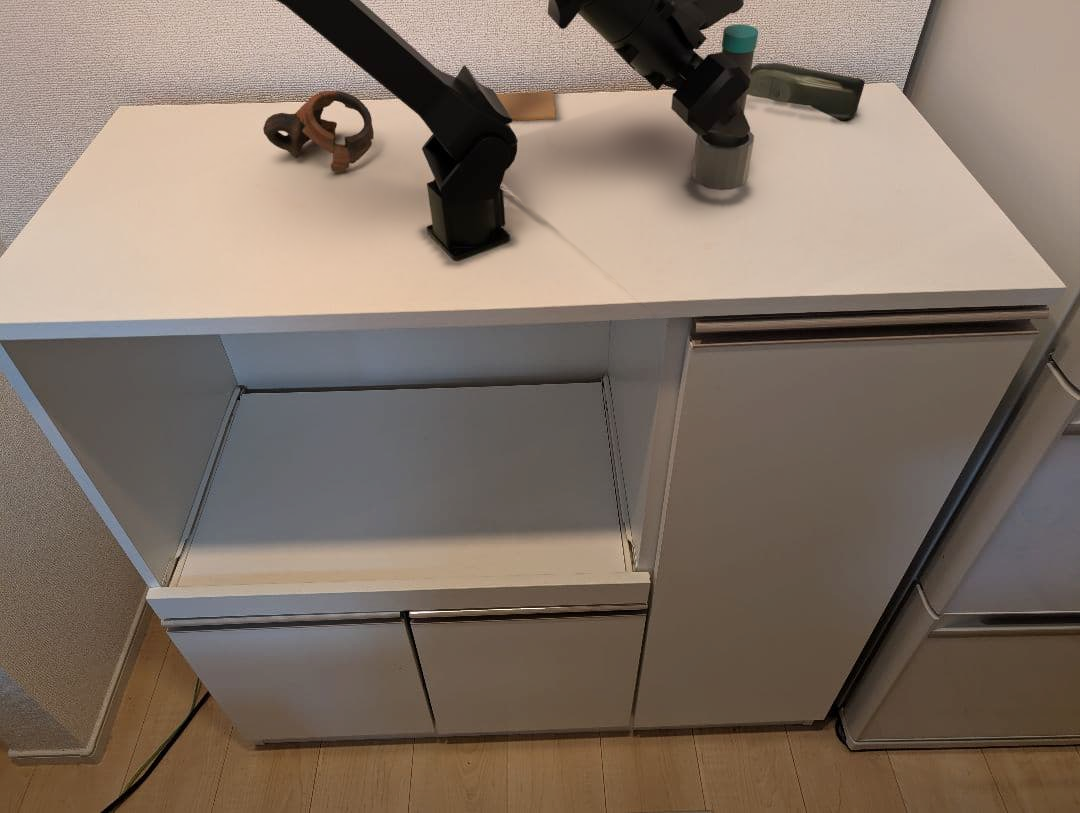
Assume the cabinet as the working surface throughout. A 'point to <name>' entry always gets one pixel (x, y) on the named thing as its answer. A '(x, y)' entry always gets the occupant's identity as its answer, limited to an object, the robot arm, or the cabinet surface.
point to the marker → (739, 50)
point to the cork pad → (529, 105)
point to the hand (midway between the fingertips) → (724, 112)
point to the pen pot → (721, 163)
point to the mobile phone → (807, 88)
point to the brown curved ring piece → (321, 129)
